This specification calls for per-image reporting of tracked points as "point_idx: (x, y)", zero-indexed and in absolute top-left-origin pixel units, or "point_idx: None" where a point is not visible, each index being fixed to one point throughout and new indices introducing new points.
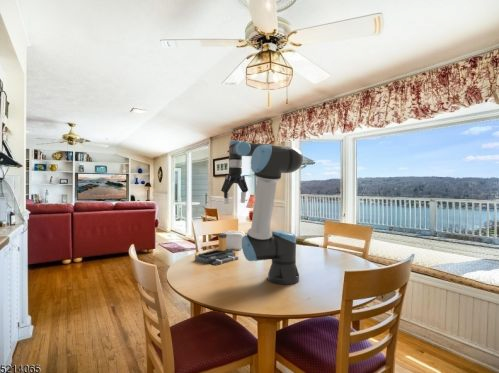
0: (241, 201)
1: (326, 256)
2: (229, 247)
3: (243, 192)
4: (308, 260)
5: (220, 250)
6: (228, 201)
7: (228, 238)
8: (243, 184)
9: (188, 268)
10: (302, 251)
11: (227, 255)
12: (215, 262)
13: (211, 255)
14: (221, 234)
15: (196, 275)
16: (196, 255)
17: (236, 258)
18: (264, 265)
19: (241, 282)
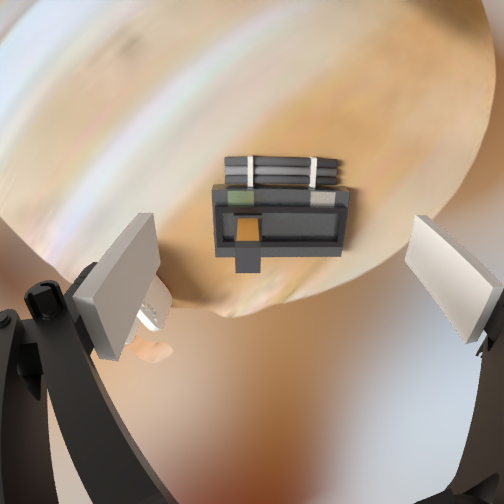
0: (155, 262)
1: (12, 22)
2: (157, 278)
3: (101, 312)
4: (71, 7)
5: (258, 228)
6: (434, 226)
7: (151, 301)
8: (31, 456)
9: (402, 200)
10: (7, 99)
11: (255, 188)
12: (331, 169)
13: (322, 207)
14: (257, 258)
15: (428, 138)
16: (338, 254)
17: (235, 157)
18: (216, 39)
19: (391, 10)
